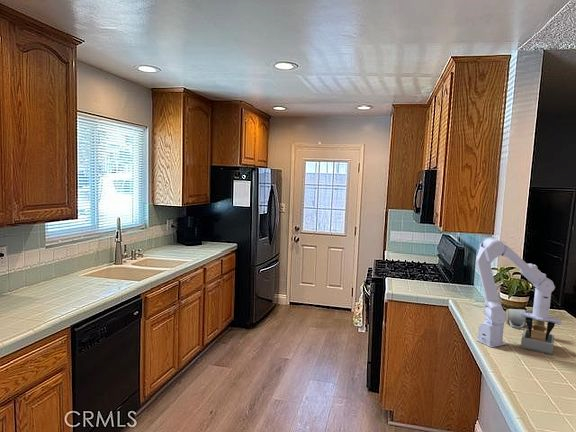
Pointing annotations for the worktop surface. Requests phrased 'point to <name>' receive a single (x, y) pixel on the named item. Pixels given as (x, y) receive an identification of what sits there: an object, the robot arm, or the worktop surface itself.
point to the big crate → (537, 343)
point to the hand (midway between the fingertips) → (538, 337)
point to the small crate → (538, 332)
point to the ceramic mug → (515, 318)
